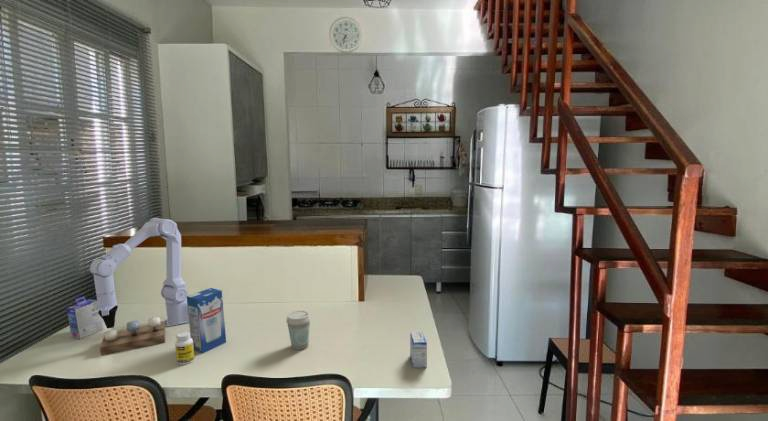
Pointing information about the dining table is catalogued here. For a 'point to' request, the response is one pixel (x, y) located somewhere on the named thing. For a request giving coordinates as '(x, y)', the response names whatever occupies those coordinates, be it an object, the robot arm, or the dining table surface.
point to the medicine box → (418, 349)
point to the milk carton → (206, 319)
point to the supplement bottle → (184, 348)
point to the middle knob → (133, 326)
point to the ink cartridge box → (84, 318)
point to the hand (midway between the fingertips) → (110, 327)
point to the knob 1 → (111, 335)
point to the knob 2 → (154, 322)
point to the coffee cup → (299, 329)
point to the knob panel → (134, 340)
